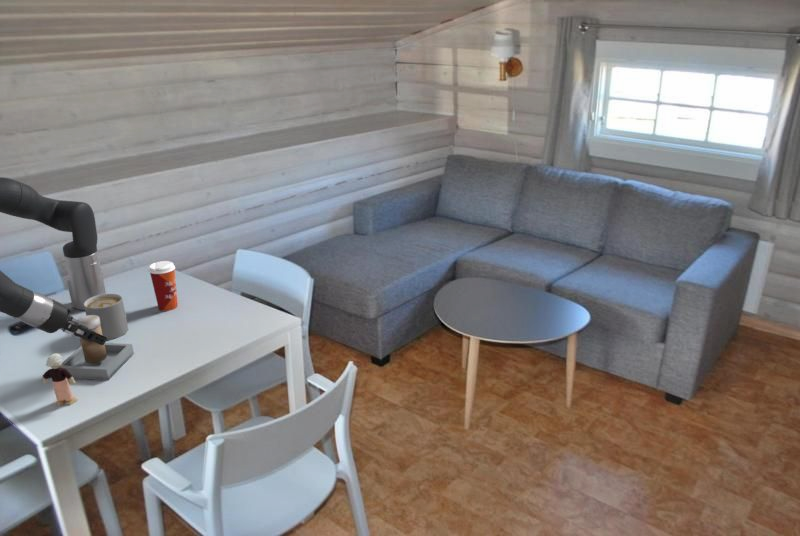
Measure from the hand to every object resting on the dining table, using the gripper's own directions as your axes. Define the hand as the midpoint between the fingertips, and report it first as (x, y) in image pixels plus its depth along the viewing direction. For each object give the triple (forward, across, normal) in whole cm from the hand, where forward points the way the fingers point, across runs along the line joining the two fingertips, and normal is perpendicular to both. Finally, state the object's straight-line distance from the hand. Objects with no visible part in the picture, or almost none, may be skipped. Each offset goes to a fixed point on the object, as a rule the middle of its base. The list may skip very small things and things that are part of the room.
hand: (99, 338), depth 165 cm
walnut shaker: (+2, 0, -5) cm, 5 cm away
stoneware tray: (+4, 0, -6) cm, 7 cm away
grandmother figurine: (-5, +10, -16) cm, 19 cm away
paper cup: (+26, -18, +15) cm, 35 cm away
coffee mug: (+12, -17, +2) cm, 21 cm away
